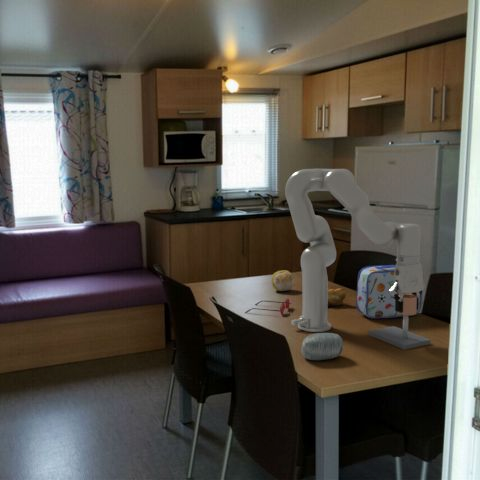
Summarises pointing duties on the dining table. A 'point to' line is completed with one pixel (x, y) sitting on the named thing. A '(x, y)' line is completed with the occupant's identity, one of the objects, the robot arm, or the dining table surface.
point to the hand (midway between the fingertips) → (406, 309)
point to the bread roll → (336, 296)
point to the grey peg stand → (400, 336)
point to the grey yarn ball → (322, 346)
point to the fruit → (282, 280)
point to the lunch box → (377, 292)
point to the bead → (409, 304)
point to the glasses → (275, 310)
